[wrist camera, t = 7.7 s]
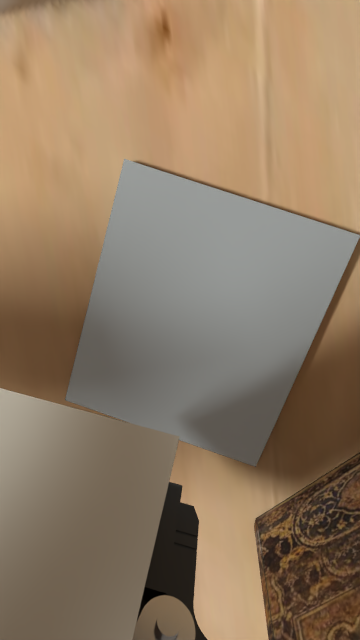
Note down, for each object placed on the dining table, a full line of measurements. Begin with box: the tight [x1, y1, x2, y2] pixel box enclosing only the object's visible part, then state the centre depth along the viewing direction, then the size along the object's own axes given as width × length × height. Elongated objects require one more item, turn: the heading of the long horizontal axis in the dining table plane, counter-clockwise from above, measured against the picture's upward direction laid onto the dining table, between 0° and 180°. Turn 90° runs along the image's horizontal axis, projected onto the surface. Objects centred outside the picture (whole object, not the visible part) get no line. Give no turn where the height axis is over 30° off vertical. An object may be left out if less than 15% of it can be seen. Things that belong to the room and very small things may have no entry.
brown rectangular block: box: [0, 388, 180, 640], centre depth 10 cm, size 4×6×12 cm
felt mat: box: [65, 159, 360, 467], centre depth 19 cm, size 13×15×1 cm
